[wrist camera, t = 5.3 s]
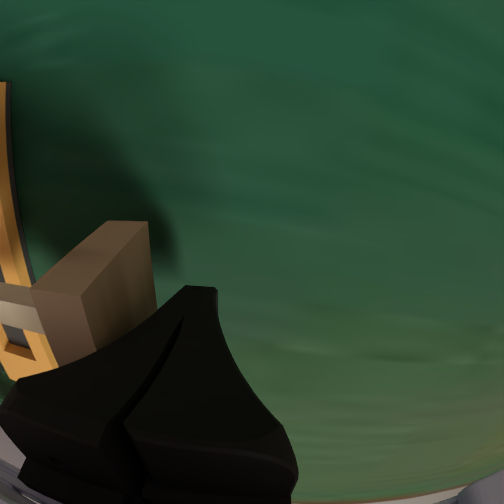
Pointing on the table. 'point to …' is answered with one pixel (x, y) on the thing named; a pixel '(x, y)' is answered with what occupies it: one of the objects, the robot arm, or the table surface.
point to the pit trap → (16, 262)
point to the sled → (88, 293)
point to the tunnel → (1, 367)
